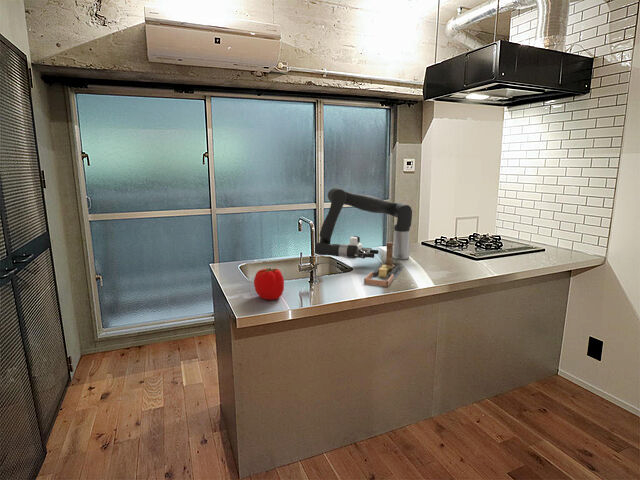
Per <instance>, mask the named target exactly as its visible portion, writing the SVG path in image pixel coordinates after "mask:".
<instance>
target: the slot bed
mask: <svg viewBox="0 0 640 480" xmlns="http://www.w3.org/2000/svg"><path fill="white" fill-rule="evenodd" d="M382 265H386V261H384V262H382V263H381V264H379V266H378V267H377V268H376V269H375V270H374V271H372V272H373V277H374V278H380V277H379V269H380V268H381V267H382ZM392 265H395V267H394V269H393V270H392V271H391V272H390V273H389V275H388V276H387V278H385V277H381V278H384V279H389V278H390V276H391V275H392V274H394V279H393V280H395V279H396V278H397V277H398V276H399V274H400V273H401V272H402V270H404V267H403V266H402V267H401V263H397V262H392Z"/></svg>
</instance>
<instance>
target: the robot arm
mask: <svg viewBox="0 0 640 480" xmlns="http://www.w3.org/2000/svg"><path fill="white" fill-rule="evenodd" d="M327 198H328V201H329V202H330V207H329V211H328V212H327V215H326V217H325V218H324V220H323V222H322V225H321V228H320V231H319V235H318V236H319V237H320V239H319V242H317V243H315V244H314V245H315V252H314V253H315V254H316V255H318V256H331V257H338V258H339V257H340V258H346V259H357V258H359V259H366V258H371V259H373V258H374V259H375V255H379V250H378V249H373V248H372V247H363V246H362V248H360V249H358V247H357V246H356V245H348V244H340V243H332V242H331V239H332V237H333V232H334V231H335V230H334V229H335V226H336V224H337V221H338V218H339V215H340V213H341V210H342V209H343V207H344V205H345V206H350V207H352V208H356V209H357V210H361V211H365V212H368V213H373V214H375V213H376V214H386V215H389V216H393V217H395V218H396V224H394V227H393V259H395V260H407V259H409V258H410V250H411V249H410V247H411V242H410V229H411V225H412V218H413V209H412V207H411V206H410V205H409V204H405V203H402V202H400V203H399V202H393V201H392V202H391V201H387V200H384V199H382V198H379V197H376V196H372V195H368V194H362V193H355V192H354V193H352V192H349V191H347V190H346V191H345V190H344V189H343V188H339V187H334V188H332V189H330V190H329V191H328V193H327Z"/></svg>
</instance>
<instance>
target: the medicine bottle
mask: <svg viewBox="0 0 640 480" xmlns="http://www.w3.org/2000/svg"><path fill="white" fill-rule="evenodd" d="M347 245H356V246H357V247H358V249H360V248H362V247H363V243H361V238H360V236H357V235H353V236H350V238H349V243H348V244H347Z"/></svg>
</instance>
